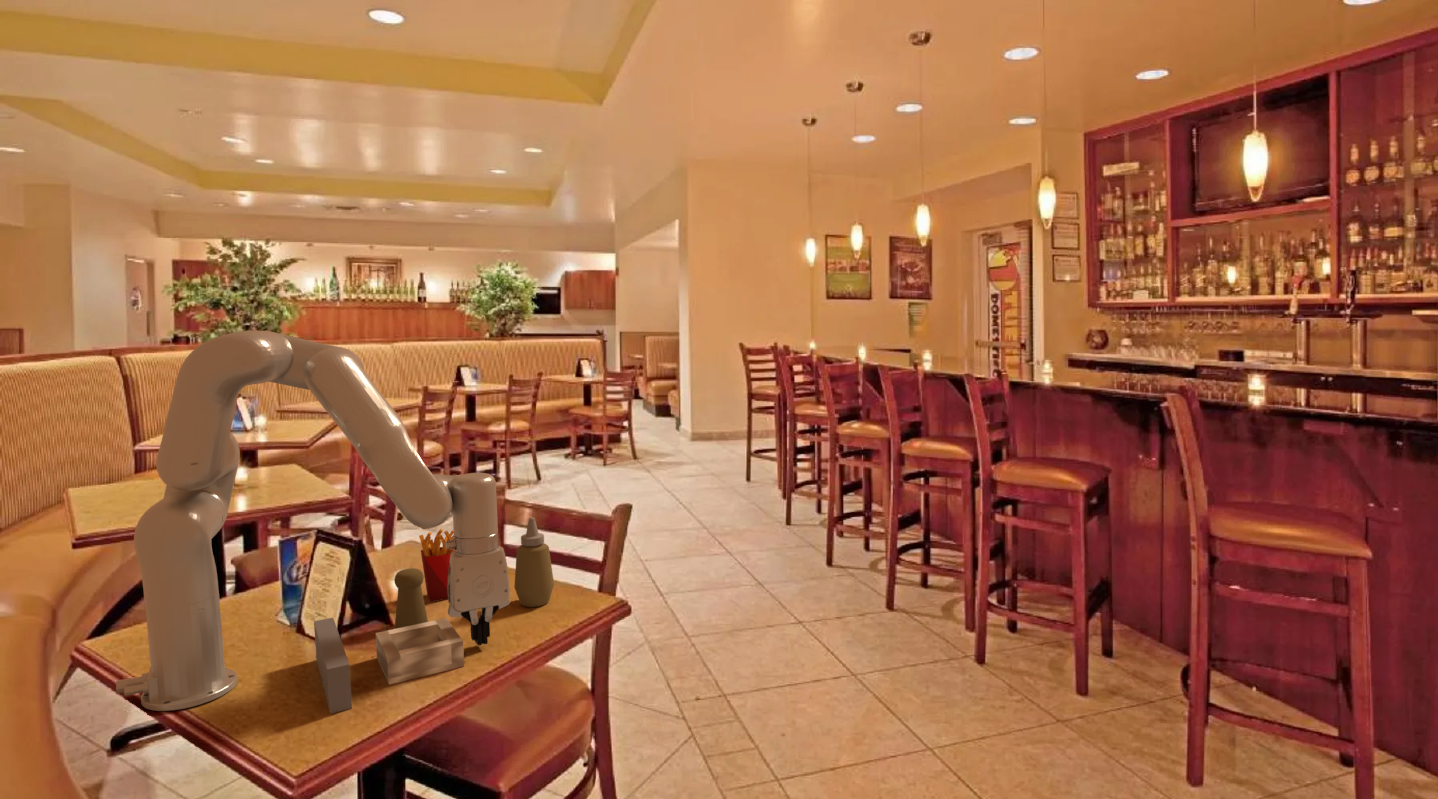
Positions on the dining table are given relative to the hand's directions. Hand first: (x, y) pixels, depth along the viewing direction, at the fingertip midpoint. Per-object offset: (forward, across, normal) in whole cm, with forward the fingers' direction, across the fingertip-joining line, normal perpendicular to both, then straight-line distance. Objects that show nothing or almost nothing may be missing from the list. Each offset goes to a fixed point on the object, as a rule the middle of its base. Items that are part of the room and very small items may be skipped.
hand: (480, 642), depth 137 cm
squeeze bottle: (+1, +16, +16) cm, 22 cm away
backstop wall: (+1, -24, 0) cm, 24 cm away
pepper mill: (+1, -8, +18) cm, 20 cm away
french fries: (+1, +1, +30) cm, 30 cm away
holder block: (+1, -10, 0) cm, 11 cm away
